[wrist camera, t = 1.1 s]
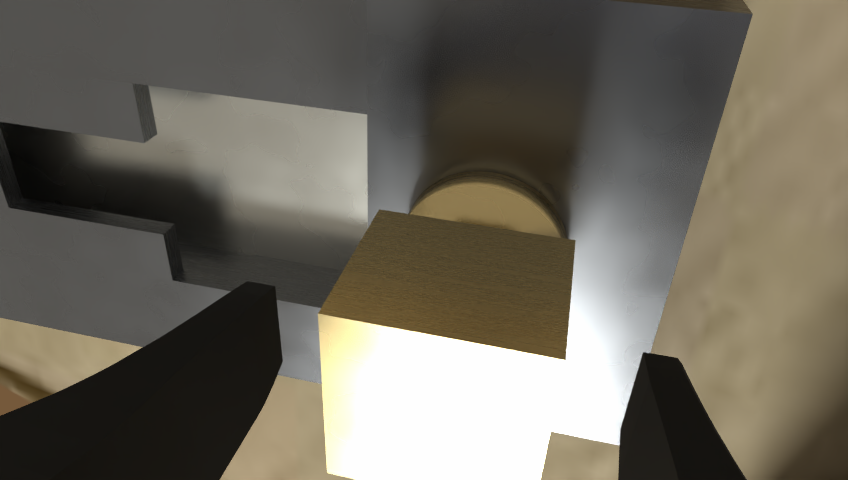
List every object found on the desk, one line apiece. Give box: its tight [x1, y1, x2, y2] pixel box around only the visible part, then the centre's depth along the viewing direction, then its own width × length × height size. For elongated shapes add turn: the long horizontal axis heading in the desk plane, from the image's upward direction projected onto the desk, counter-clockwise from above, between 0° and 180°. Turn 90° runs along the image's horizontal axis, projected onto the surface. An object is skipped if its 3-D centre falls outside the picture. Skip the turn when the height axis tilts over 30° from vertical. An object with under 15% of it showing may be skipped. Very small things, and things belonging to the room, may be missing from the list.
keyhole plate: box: [0, 0, 753, 445], centre depth 19 cm, size 21×12×3 cm, turn 88°
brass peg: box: [318, 171, 576, 480], centre depth 14 cm, size 4×4×6 cm
